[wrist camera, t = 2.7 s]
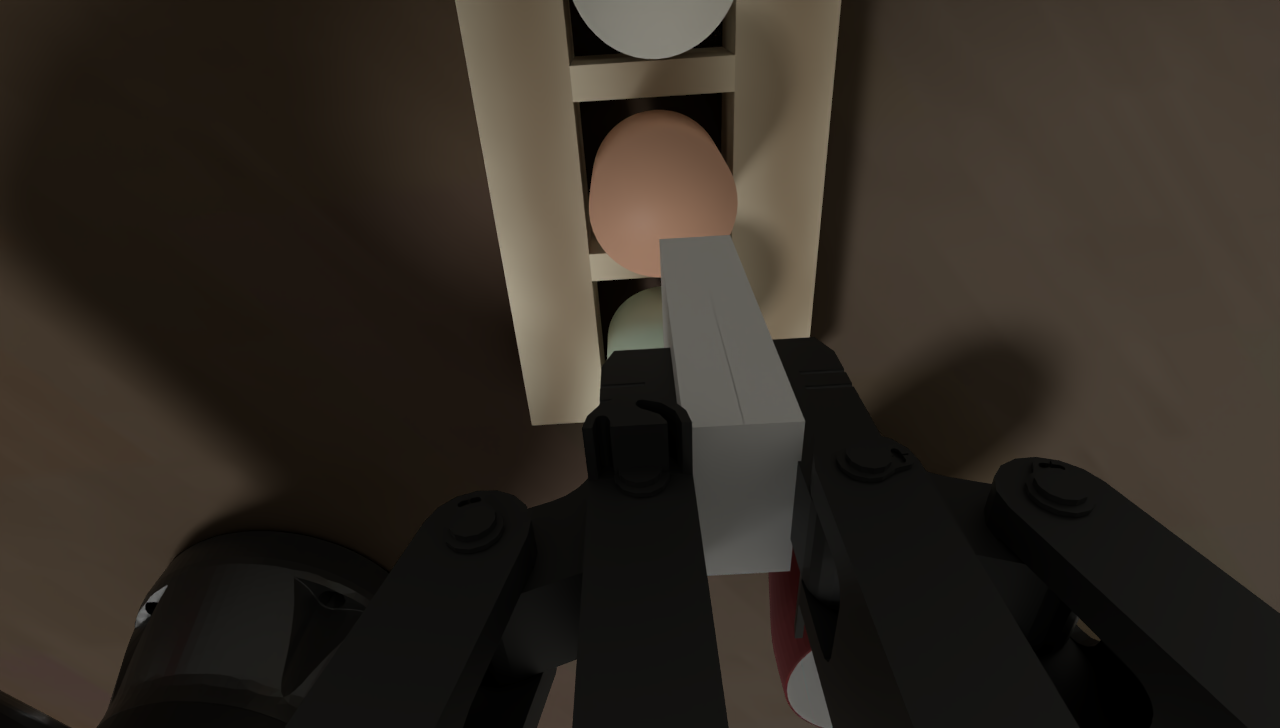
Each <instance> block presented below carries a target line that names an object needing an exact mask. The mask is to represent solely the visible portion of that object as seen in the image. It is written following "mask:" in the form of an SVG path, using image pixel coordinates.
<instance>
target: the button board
mask: <svg viewBox="0 0 1280 728" xmlns="http://www.w3.org/2000/svg"><path fill="white" fill-rule="evenodd" d="M455 3H456V8H457V14H458V19H459V25H460V31H461V36H462V42H463V47H464V53H465V58H466V64H467V69H468V75H469V80H470V86H471V91H472V97H473V102H474V108H475V113H476V119H477V124H478V130H479V136H480V141H481V147H482V152H483V158H484V163H485V169H486V174H487V180H488V185H489V191H490V196H491V202H492V207H493V213H494V218H495V224H496V229H497V235H498V241H499V246H500V252H501V257H502V263H503V268H504V274H505V279H506V285H507V290H508V296H509V301H510V307H511V312H512V318H513V323H514V329H515V334H516V340H517V346H518V351H519V357H520V362H521V368H522V373H523V379H524V384H525V390H526V395H527V401H528V406H529V412H530V417H531V423H532V426H533V425H548V424H564V423H580V422H585V420H586V417H587V415H589V414H590V413H591V412H592V411H593V410H594V409H595V408H596V407H598V406H599V404H600V388H601V387H600V383H601V367H602V366H603V364H604V363H605V362H606V361H605V355H604V345H603V335H602V325H601V315H600V305H599V295H598V285H597V281H604V280H620V279H635V278H650V277H648V276H644V275H640V274H637V273H634V272H632V271H629V270H628V269H626V268H624V267H622V266H621V265H619V264H618V263H616V262H615V261H614V260H613V259H612V258H611V257H610V256H608V254H607V253H606V252H605V251H604V250H603V248H602V247H601V245H600V244H599V242H598V241H597V239H596V236H595V234H594V232H593V229H592V226H591V222H590V216H589V195H588V185H587V175H586V165H585V155H584V145H583V135H582V125H581V115H580V104H579V102H585V101H600V100H616V99H631V98H646V97H661V96H676V95H691V94H706V93H722V132H721V155H722V157H723V159H724V160H725V162H726V164H727V165H728V167H729V169H730V171H731V173H732V175H733V178H734V182H735V185H736V190H737V200H738V206H737V215H736V219H735V223H734V226H733V229H732V232H731V234H730V236H731V238H732V241H733V243H734V246H735V248H736V251H737V253H738V256H739V258H740V261H741V263H742V266H743V268H744V271H745V273H746V276H747V278H748V281H749V283H750V286H751V288H752V291H753V293H754V296H755V298H756V300H757V303H758V305H759V308H760V310H761V313H762V315H763V318H764V320H765V323H766V325H767V328H768V330H769V333H770V335H771V338H772V339H789V338H806V337H810V330H811V319H812V308H813V298H814V287H815V276H816V266H817V255H818V244H819V234H820V223H821V212H822V202H823V191H824V180H825V170H826V159H827V148H828V137H829V127H830V116H831V105H832V95H833V84H834V73H835V63H836V52H837V41H838V31H839V20H840V9H841V0H733V2H732V4H731V7H730V8H729V10H728V12H727V14H726V15H725V17H724V18H723V25H722V47H709V48H694V49H690V50H688V51H686V52H683V53H681V54H679V55H675V56H672V57H668V58H661V59H644V58H637V57H633V56H630V55H627V54H624V53H618V54H603V55H588V56H575V54H574V44H573V34H572V24H571V14H570V4H569V0H455Z"/></svg>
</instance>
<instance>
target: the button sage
mask: <svg viewBox="0 0 1280 728" xmlns="http://www.w3.org/2000/svg"><path fill="white" fill-rule="evenodd" d="M653 348H664V340H663V316H662V291H661V286H660V287H653V288H649V289H646V290H643V291H640V292H638V293H636V294H635V295H633V296H631V297H630V298H628V299H627V300H626V301H625V302H624V303H623V304H622V305H621V306H620V307H619V308H618V309H617V311H616V312H615V314H614V315H613V318H612V320H611V322H610V326H609V330H608V348H607V359H608V358H609V357H610V355H611V354H612V353H613V351H619V350H636V349H653Z"/></svg>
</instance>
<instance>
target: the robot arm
mask: <svg viewBox="0 0 1280 728" xmlns="http://www.w3.org/2000/svg"><path fill="white" fill-rule="evenodd" d="M659 243H660V267H661V291H662V316H663V340H664V348H653V349H636V350H619V351H613V353H612V354H611V355H610V357H609V358H608V359H607V360H606V362H605V363H604V364H603V366H602V367H601V383H600V387H601V388H600V404H599V406H598V407H596V408H595V409H594V410H593V411H592V412H591V413H590V414H589V415H587V417H586V420H585V422H584V425H583V427H582V432H583V440H584V448H585V455H586V463H587V471H588V479H587V480H586V481H585V482H584V483H583V484H582V485H581V486H580V487H579V488H577V489H576V490H574V491H573V492H571V493H569V494H568V495H566V496H564V497H562V498H559V499H557V500H554V501H552V502H548V503H545V504H542V505H539V506H535V507H532V508H529V509H527V506H526V505H525V504H524V503H523V502H522V501H520V500H519V499H518V498H517V497H516V496H514V495H511V494H508V493H504V492H501V491H475V492H472V493H469V494H465V495H462V496H458V497H456V498H454V499H452V500H450V501H449V502H447V503H445V504H444V505H442V506H440V507H439V508H437V509H436V510H435V511H434V512H433V513H432V515H431V516H430V517H429V518H428V519H427V520H426V521H425V522H424V523H423V525H422V526H421V527H420V529H419V530H418V532H417V533H416V535H415V536H414V538H413V539H412V541H411V542H410V544H409V545H408V547H407V548H406V550H405V551H404V553H403V554H402V555H401V557H400V558H399V560H398V561H397V563H396V564H395V566H394V567H393V569H392V570H391V572H390V573H388V572H386V571H385V570H384V569H382V568H381V567H380V566H378V565H377V564H375V563H373V562H372V561H370V560H368V559H367V558H365V557H363V556H361V555H359V554H357V553H355V552H353V551H351V550H349V549H346V548H344V547H341V546H339V545H336V544H333V543H330V542H327V541H324V540H320V539H317V538H313V537H308V536H304V535H299V534H293V533H285V532H273V531H248V532H237V533H231V534H225V535H221V536H217V537H213V538H210V539H207V540H204V541H202V542H200V543H197V544H195V545H193V546H191V547H190V548H188V549H186V550H185V551H183V552H182V553H181V554H179V555H178V556H177V557H176V558H175V559H174V560H173V561H172V562H171V563H170V565H169V566H168V567H167V569H166V570H165V571H164V573H163V574H162V575H161V577H160V578H159V579H158V580H157V582H156V583H155V584H154V586H153V587H152V588H151V590H150V591H149V592H148V594H147V595H146V597H145V599H144V601H143V603H142V605H141V607H140V609H139V612H138V615H137V618H136V622H135V629H134V632H133V634H132V637H131V639H130V642H129V644H128V647H127V650H126V653H125V656H124V659H123V662H122V666H121V669H120V672H119V675H118V678H117V681H116V685H115V688H114V691H113V694H112V697H111V700H110V704H109V707H108V710H107V712H106V714H105V716H104V717H103V719H102V720H101V722H100V723H99V725H98V726H97V728H537V725H538V723H539V720H540V717H541V714H542V711H543V708H544V705H545V703H546V700H547V697H548V694H549V691H550V688H551V685H552V683H553V680H554V677H555V674H556V669H557V666H560V665H563V664H565V663H568V662H571V661H573V660H576V659H577V666H576V681H575V696H574V711H573V726H572V728H729V727H728V720H727V713H726V706H725V699H724V692H723V685H722V678H721V670H720V663H719V656H718V649H717V642H716V635H715V628H714V621H713V614H712V607H711V600H710V592H709V585H708V578H707V576H710V575H729V574H747V573H765V572H784V571H790V567H791V557H792V548H793V549H794V553H795V556H796V560H797V563H798V566H799V570H800V578H799V587H798V596H797V605H796V614H795V623H794V629H795V638H803V631H804V624H805V628H806V632H807V635H808V639H809V643H810V646H811V650H812V654H813V657H814V661H815V665H816V668H817V672H818V676H819V679H820V683H821V687H822V690H823V694H824V698H825V701H826V705H827V709H828V712H829V716H830V720H831V723H832V727H833V728H1280V613H1278V612H1277V611H1276V610H1274V609H1273V608H1272V607H1270V606H1269V605H1268V604H1266V603H1265V602H1264V601H1262V600H1261V599H1260V598H1258V597H1257V596H1256V595H1254V594H1253V593H1252V592H1250V591H1249V590H1248V589H1246V588H1245V587H1244V586H1242V585H1241V584H1240V583H1239V582H1237V581H1236V580H1235V579H1233V578H1232V577H1231V576H1229V575H1228V574H1227V573H1225V572H1224V571H1223V570H1221V569H1220V568H1219V567H1217V566H1216V565H1215V564H1213V563H1212V562H1211V561H1209V560H1208V559H1207V558H1205V557H1204V556H1203V555H1201V554H1200V553H1199V552H1197V551H1196V550H1195V549H1193V548H1192V547H1191V546H1189V545H1188V544H1187V543H1185V542H1184V541H1183V540H1181V539H1180V538H1179V537H1177V536H1176V535H1175V534H1173V533H1172V532H1171V531H1169V530H1168V529H1167V528H1166V527H1164V526H1163V525H1162V524H1160V523H1159V522H1158V521H1156V520H1155V519H1154V518H1152V517H1151V516H1150V515H1148V514H1147V513H1146V512H1144V511H1143V510H1142V509H1140V508H1139V507H1138V506H1136V505H1135V504H1134V503H1132V502H1131V501H1130V500H1128V499H1127V498H1126V497H1124V496H1123V495H1122V494H1120V493H1119V492H1118V491H1116V490H1115V489H1114V488H1112V487H1111V486H1110V485H1108V484H1107V483H1106V482H1104V481H1103V480H1101V479H1099V478H1098V477H1096V476H1094V475H1093V474H1091V473H1089V472H1087V471H1086V470H1084V469H1082V468H1079V467H1076V466H1073V465H1070V464H1068V463H1065V462H1062V461H1059V460H1052V459H1045V458H1039V457H1030V458H1018V459H1014V460H1012V461H1009V462H1007V463H1005V464H1003V465H1001V466H1000V468H999V470H998V471H997V473H996V475H995V476H994V479H993V482H992V484H988V483H982V482H976V481H970V480H964V479H957V478H951V477H946V476H942V475H938V474H934V473H930V472H928V471H925V469H924V467H923V466H922V464H921V462H920V461H919V460H918V459H917V458H916V457H915V455H914V454H913V453H912V452H911V451H910V450H909V449H908V448H906V447H905V446H903V445H901V444H899V443H898V442H896V441H894V440H892V439H890V438H887V437H883V436H881V435H880V433H879V431H878V429H877V428H876V426H875V424H874V422H873V420H872V419H871V417H870V415H869V413H868V411H867V410H866V408H865V406H864V404H863V402H862V401H861V399H860V397H859V395H858V393H857V392H856V390H855V388H854V387H852V382H851V381H850V379H849V377H848V375H847V373H846V372H844V368H843V366H842V364H841V363H840V361H839V359H838V357H837V355H836V354H835V352H834V351H833V350H832V349H830V348H829V347H827V346H826V345H825V344H823V343H822V342H820V341H819V340H818V339H816V338H815V337H806V338H789V339H772V338H771V335H770V333H769V330H768V328H767V325H766V323H765V320H764V318H763V315H762V313H761V310H760V308H759V305H758V303H757V300H756V298H755V296H754V293H753V291H752V288H751V286H750V283H749V281H748V278H747V276H746V273H745V271H744V268H743V266H742V263H741V261H740V258H739V256H738V253H737V251H736V248H735V246H734V243H733V241H732V238H731V236H730V235H720V236H704V237H687V238H670V239H659ZM1079 618H1080V619H1081V620H1082V621H1083V622H1084V623H1085V624H1086V625H1087V626H1088V627H1089V628H1090V629H1091V630H1092V631H1093V632H1094V633H1095V634H1096V635H1097V636H1098V637H1099V638H1100V639H1101V640H1100V641H1097V640H1095V639H1093V638H1091V637H1090V636H1088V635H1087V634H1086V633H1085V632H1083V631H1082V630H1081V629H1080V628H1079V627H1078V626H1077V625H1076V623H1077V621H1078V619H1079ZM0 728H71V727H69V726H67V725H65V724H63V723H61V722H59V721H58V720H56V719H54V718H52V717H50V716H48V715H46V714H44V713H42V712H41V711H39V710H37V709H35V708H33V707H31V706H29V705H27V704H25V703H23V702H22V701H20V700H18V699H16V698H14V697H12V696H10V695H8V694H6V693H5V692H3V691H1V690H0Z"/></svg>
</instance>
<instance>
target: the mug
mask: <svg viewBox="0 0 1280 728" xmlns="http://www.w3.org/2000/svg"><path fill="white" fill-rule="evenodd" d="M799 578H800V570H799V566H798V563H797V560H796V556H795V553H794V549H793V548H792V557H791V567H790V571H784V572H769V595H770V620H771V634H772V643H773V649H774V654H775V658H776V662H777V666H778V671H779V674H780V678H781V682H782V686H783V689H784V693H785V697H786V700H787V702H788V704H789V706H790V707H791V709H792V710H793V711H794V712H795V713H796V714H797V715H798V716H799V717H800V718H802V719H803V720H805V721H807V722H809V723H810V724H813V725H815V726H817V727H820V728H833V727H832V723H831V720H830V716H829V712H828V709H827V705H826V701H825V698H824V694H823V690H822V687H821V683H820V679H819V676H818V672H817V668H816V665H815V661H814V657H813V654H812V650H811V646H810V643H809V639H808V635H807V632H806V628H805V624H804V631H803V638H795V629H794V623H795V614H796V605H797V596H798V587H799Z"/></svg>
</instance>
